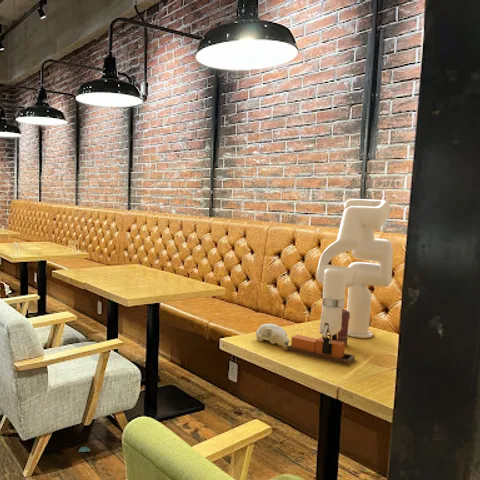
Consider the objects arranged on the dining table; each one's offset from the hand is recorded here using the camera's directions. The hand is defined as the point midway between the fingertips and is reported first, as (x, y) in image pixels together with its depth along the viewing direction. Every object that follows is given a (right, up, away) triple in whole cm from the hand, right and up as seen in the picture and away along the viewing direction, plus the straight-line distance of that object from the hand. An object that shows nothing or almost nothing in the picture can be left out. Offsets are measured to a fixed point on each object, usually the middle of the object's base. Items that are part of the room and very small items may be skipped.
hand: (329, 351), depth 176 cm
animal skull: (-17, -1, +14) cm, 22 cm away
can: (+10, -2, +18) cm, 20 cm away
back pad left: (-7, -1, +6) cm, 9 cm away
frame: (-3, -2, +2) cm, 4 cm away
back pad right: (0, -1, 0) cm, 1 cm away
